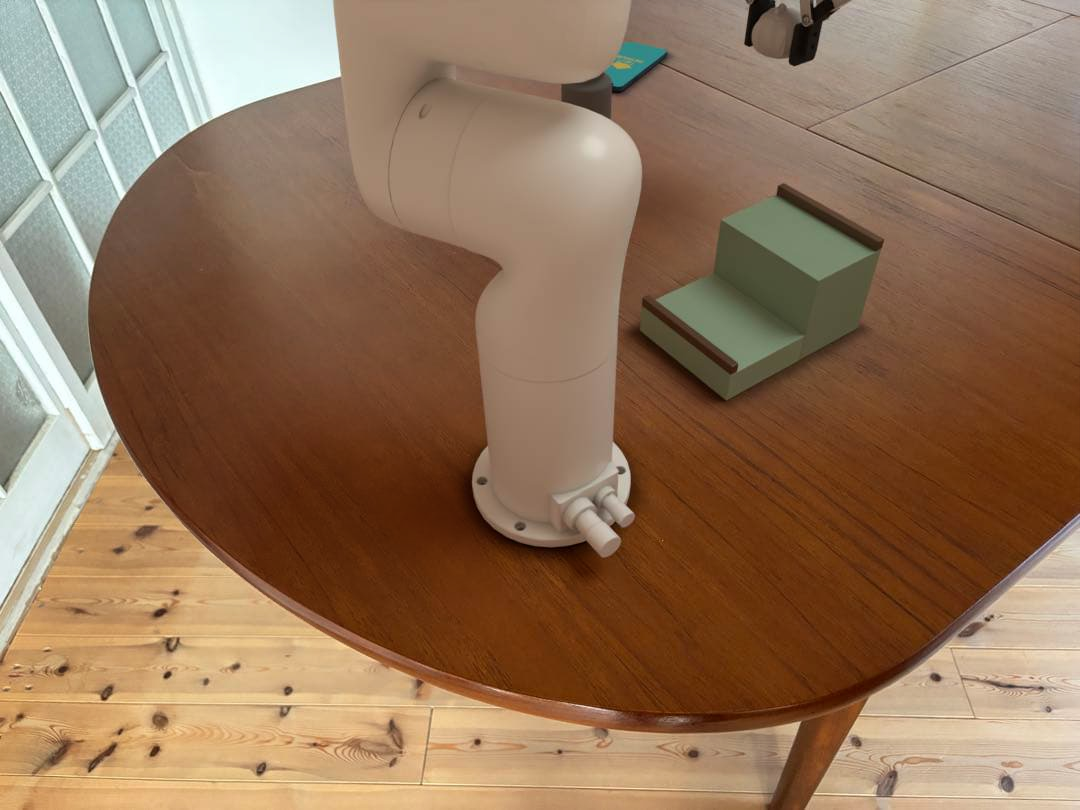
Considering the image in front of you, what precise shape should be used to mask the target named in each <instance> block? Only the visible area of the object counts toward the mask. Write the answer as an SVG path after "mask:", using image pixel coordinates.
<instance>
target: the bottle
mask: <svg viewBox="0 0 1080 810" xmlns="http://www.w3.org/2000/svg"><path fill="white" fill-rule="evenodd" d="M560 86H561V88H560V90H561V93H560V94H561V96H560V98H561V99H560V101H561V102H565V103H569V104H573V105H576V106H579V107H583V108H586V109H588V110H591V111H593V112H596V113H598V114H600V115H603V116H604V117H606V118H608V119H610V120H611V121H612V102H613V101H612V100H613V99H612V98H613V96H612V94H613V90H612V79H611V77H610V76H609V75H608V74H607V73H605V72H603V73H602V74H601V75H599V76H598V77H595V78H593V79H590V80H587V81H585V82H580V83H569V84H561V85H560Z"/></svg>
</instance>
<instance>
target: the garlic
mask: <svg viewBox="0 0 1080 810" xmlns="http://www.w3.org/2000/svg"><path fill="white" fill-rule="evenodd" d="M798 23H801V13H800V9H798V8H793V7H788V6H787V5H786V4H785V3H783V2H780V3H779V4H778V6H775V8H771V9H770V10H769V11H767V12H766V13H764V14H763V15H762V16H761V17H760V19H759V21H758V22H757V23H756V24H755V26H754V28H753V31H752V44H753V46H752V47H753V48H754V50H755V51H756V52H757V53H758V54H760V55H762V56H764V57H767V58H771V59H775V60H783V59H784V60H786V59H789V55H790V49H791V44H792V38H793V33H794V27H795V25H796V24H798Z"/></svg>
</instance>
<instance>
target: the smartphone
mask: <svg viewBox="0 0 1080 810" xmlns="http://www.w3.org/2000/svg"><path fill="white" fill-rule="evenodd" d="M668 53H669V51H668V50H667V49H666V48H661V47H656V46H652V45H648V44H642V43H638V42H633V41H626V42H625V43H622V46H621V48H620V51H619V53H618V55H617V57H616V59H615V60H614V62H613V63H612V65H611V66H610V67H609V68H608V69H606V70H605V71H604V72H605V73H607V74H608V75H609V76H610V77H611V79H612V92H623V91H625V90H626V89H627V88H628V87H630V86H631V85H632V84H633V83H635V82H636V81H638V80H639V79H640V78H641V77H643V76H644V75H645V74H646V73H647V72H649V71H650V70H651V69H653V68H654V67H655V66H656V65H658V64H659V63H661V62H662V61H663V60H664V59H666V58H667V57H668Z"/></svg>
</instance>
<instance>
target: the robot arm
mask: <svg viewBox="0 0 1080 810" xmlns="http://www.w3.org/2000/svg"><path fill="white" fill-rule="evenodd" d="M744 2H745V3H746V5H748V6H749V7H748V12H747V13H748V14H747V19H746V26H745V27H746V28H745V35H744V42H743V44H744V45H743V46H746V47H748V48H750V47H754V46H753V44H752V31H753V28H754V26H755V24H756V23H757V22H758V21H759V19H760V17H761V16H762V15H763V14H764V13H766V12H767V11H769V10H770V9H771V8H775V7H777V5H776V2H777V0H744ZM850 2H852V0H815V3H816V4H815V5H814V0H799V11H800V13H801V23H798V24H796V25H795V27H794V33H793V38H792V44H791V49H790V55H789V58H788V64H789V66H792V67H797V66H800V65H803V64H806V63H809V62H811V61H814V59H815V57H816V55H817V51H818V46H819V41H820V36H821V33H822V27H823V22H826V21H828V20H829V19H830V18H831V16H832V15H834V14H835V13H836V12H837V11H839V10H840V9H841V8H842V7H844V6H845V5H847V4H849V3H850ZM332 5H333V17H334V25H335V35H336V43H337V53H338V54H337V55H338V61H339V62H338V63H339V71H340V79H341V88H342V97H343V107H344V115H345V122H346V123H345V124H346V131H347V133H346V134H347V141H348V148H349V155H350V156H349V157H350V162H351V167H352V171H353V176H354V179H355V184H356V186H357V189H358V191H359V194H360V196H361V198H362V200H363V201H364V203H365V204H366V206H367V207H368V209H369V210H370V211H371V212H372V213H373V215H375V216H376V217H377V218H378V219H380V220H382V221H383V222H385V223H387V224H389V225H391V226H393V227H395V228H398V229H401V230H403V231H406V232H409V233H412V234H416V235H419V236H422V237H426V238H429V239H433V240H436V241H439V242H442V243H446V244H448V245H453V246H455V247H458V248H462V249H465V250H467V251H468V252H470V253H474V254H476V255H480V256H484V257H486V258H488V259H491V260H492V261H494V262H496V263H497V264H498V265H499V266H500V267H501V268H502V269H501V270H499V272H497V273H496V274H495V276H494V277H493V278H492V279H491V280H490V281H489V283H487V285H486V286H485V288H484V289H483V291H482V293H481V294H480V296H479V299H478V302H477V305H476V309H475V316H474V317H475V319H474V323H475V324H474V325H475V326H474V327H475V338H476V339H475V340H476V345H477V354H478V365H479V374H480V384H481V393H482V403H483V412H484V413H483V414H484V421H485V431H486V441H487V445H486V447H485V448H484V449H483V450H482V451H481V452H480V455H479V456H478V458H477V460H476V462H475V464H474V468H473V470H472V476H471V478H472V479H471V486H472V495H473V499H474V502H475V505H476V509H477V510H478V512H479V513H480V515H481V516H482V518H483V520H484V521H486V523H487V524H489V526H491V528H493V529H494V530H495V531H497V532H498V533H499V534H501V535H503V536H504V537H506V538H508V539H510V540H514V541H515V542H518V543H520V544H525V545H529V546H533V547H540V548H541V547H543V548H558V547H559V548H560V547H568V546H572V545H577V544H580V543H581V544H582V543H584V542H587V544H589V545H590V546H591V548H592V549H593V550H594V551H595V552H596V553H597V554H598V555H599V557H601V558H603V559H604V558H608V557H610V556H612V555H613V554H615V553H616V552H617V551H618V549H619V548H620V547H621V543H622V539H621V537H620V536H619V535H618V534H617V533H616V531H614V530H613V529H612V527H611V526H612V525H613V524H615V522H616V524H617V525H619V526H620V528H623V529H624V528H627V527H629V526H630V525H631V524H632V523H633V522H634V520H635V518H636V515H635V513H634V512H633V510H631V509H630V507H628V505H627V504H628V501H629V499H630V494H631V493H630V492H631V484H632V483H631V482H632V481H631V478H632V477H631V469H630V467H629V463H628V460H627V459H626V457H625V454H624V453H623V451H622V450H621V449H620V448H619V446H618V445H617V444H616V443H615V442H614V426H615V403H616V402H615V401H616V382H617V360H618V359H617V358H618V334H619V333H618V331H619V311H620V301H621V289H622V281H623V273H624V268H625V262H626V257H627V252H628V247H629V245H630V244H629V243H630V239H631V235H632V230H633V227H634V223H635V219H636V217H637V216H636V215H637V211H638V208H639V205H640V197H641V192H642V183H643V163H642V159H641V155H640V152H639V149H638V147H637V146H636V143H635V142H634V140H633V139H632V137H631V136H630V135H629V133H628V132H627V131H626V130H625V129H623V128H622V127H621V126H620V125H619V124H618V123H616V122H614V121H613V120H612V119H611V120H610V119H608V118H606V117H604V116H603V115H600V114H598V113H596V112H593V111H591V110H588V109H586V108H583V107H579V106H576V105H573V104H569V103H565V102H561V100H556V99H552V98H547V97H543V96H538V95H533V94H529V93H525V92H521V91H520V92H519V91H516V90H511V89H501V88H496V87H491V86H487V85H484V84H483V85H482V84H478V83H474V82H468V81H464V80H460V79H457V67H460V68H465V69H466V68H467V69H470V70H476V71H481V72H485V73H491V74H496V75H501V76H506V77H510V78H511V77H512V78H517V79H522V80H530V81H536V82H541V83H548V84H559V85H560V84H569V83H580V82H585V81H587V80H590V79H593V78H595V77H598V76H599V75H601V74H602V73H603V72H604V71H605V70H606V69H608V68H609V67H610V66H611V65H612V63H613V62H614V60H615V59H616V57H617V55H618V53H619V51H620V48H621V46H622V45H623V44H624V43H623V42H624V39H625V36H626V32H627V29H628V25H629V19H630V13H631V8H632V0H332Z"/></svg>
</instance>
